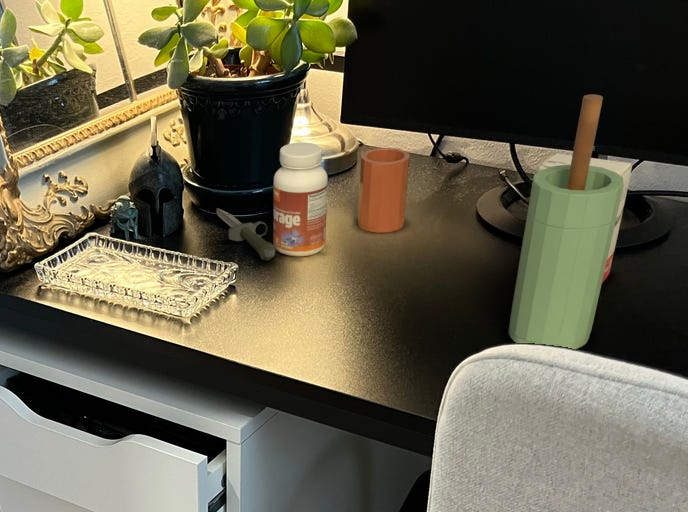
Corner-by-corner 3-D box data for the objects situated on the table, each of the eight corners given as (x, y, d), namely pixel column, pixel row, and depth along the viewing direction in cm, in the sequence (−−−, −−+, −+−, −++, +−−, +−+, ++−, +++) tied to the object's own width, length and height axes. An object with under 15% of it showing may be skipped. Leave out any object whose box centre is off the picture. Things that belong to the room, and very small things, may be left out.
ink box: (611, 274, 110) (637, 161, 102) (596, 290, 108) (622, 176, 100) (535, 259, 114) (554, 149, 106) (519, 275, 111) (537, 163, 103)
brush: (565, 321, 101) (612, 91, 87) (565, 335, 99) (613, 102, 85) (532, 319, 102) (573, 91, 88) (532, 333, 100) (574, 102, 85)
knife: (201, 202, 128) (238, 196, 129) (202, 218, 130) (238, 212, 131) (253, 248, 115) (294, 241, 116) (254, 266, 116) (294, 259, 117)
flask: (587, 319, 103) (621, 165, 93) (589, 355, 97) (626, 196, 87) (509, 314, 105) (534, 163, 94) (507, 349, 99) (533, 192, 89)
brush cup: (406, 216, 126) (411, 148, 120) (401, 233, 122) (406, 164, 116) (361, 214, 127) (364, 147, 121) (355, 231, 123) (358, 163, 117)
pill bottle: (262, 247, 120) (261, 149, 113) (300, 233, 123) (302, 136, 115) (297, 262, 116) (298, 162, 109) (336, 247, 119) (339, 148, 111)
